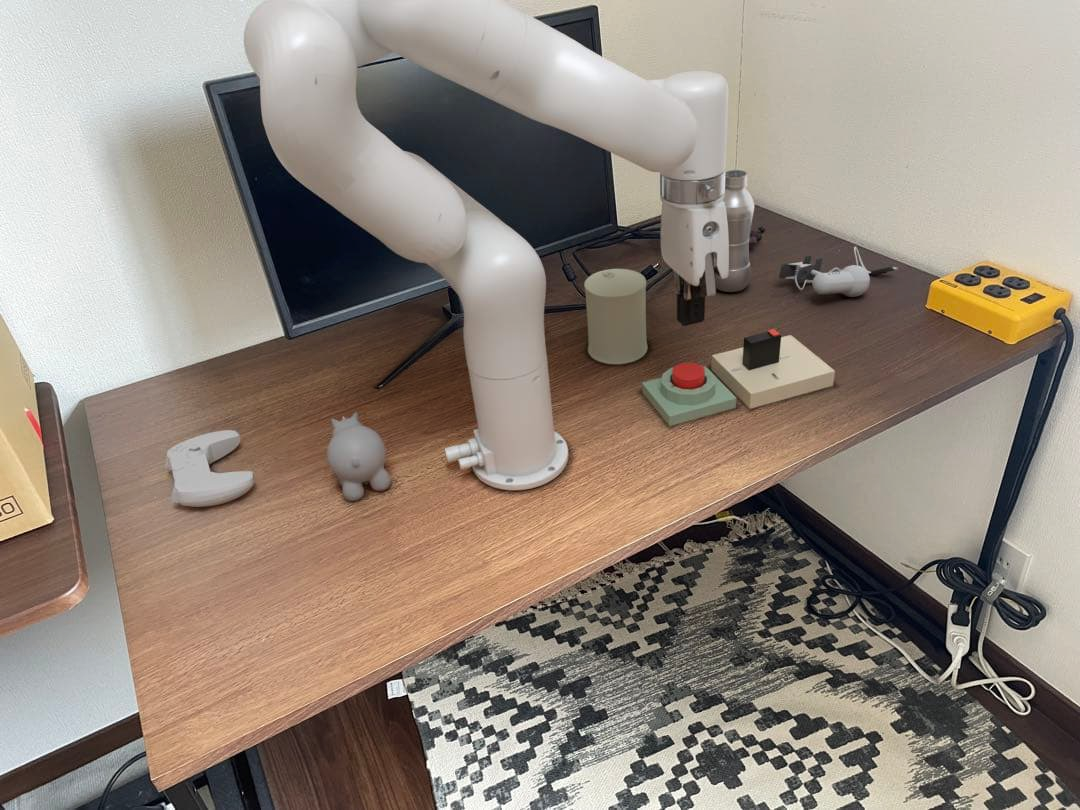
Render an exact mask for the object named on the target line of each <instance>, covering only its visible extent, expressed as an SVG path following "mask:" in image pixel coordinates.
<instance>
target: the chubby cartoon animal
mask: <svg viewBox="0 0 1080 810" xmlns="http://www.w3.org/2000/svg"><path fill="white" fill-rule="evenodd" d="M330 421H331V424H332V428H333V429H332V435H331V436H332V437H331V439H330V441H329V443H328V446H327V449H326V459H327V464H328V466H329V468H330V470H331V471H332V473H333V474H334V475H335V476H336V477H337V478H338V483H339V484H340V486H341V487H342V495H343V497H344V499H345V500H346V501H350V502H356V501H358V500H360V499H362V498H363V497H364V495H365V488H364V486H363V485H368V483H369V484H370V487H371V488H372V489H373V490H375V491H376V492H382V491H385V490H387V489H388V488H389V487H390V485H391V484H392V483H391V482H392V478H391V476H390V474H389V472H388V471H387V470H386V469H385V467H384V465H385V463H386V458H387V449H386V445H385V442H384V441H383V439H382V437H381V436H380V434H379V433H377V432H376V431H375V430H374V429H371V428H370V427H369V426H364V424H362V423H361V422H360V421H359V413H358V412H357V411H355V412H354V413H353V414H352V416H350V417H349V418H346V417H345V416H344V415H342V418H341V420H337V419H335V418H333V417H332V418H331V419H330Z"/></svg>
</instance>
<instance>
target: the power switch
mask: <svg viewBox="0 0 1080 810" xmlns="http://www.w3.org/2000/svg"><path fill="white" fill-rule="evenodd" d="M674 367H675V366H673V367H670V368H668V369H667V370H666V371H664V372H663V373H662V374H661V377H658V378H654V379H650V380H647V381H643V382H641V393H642V394H643V395H644V397H645V398H646V399H647V400H648V402H649V403H650V404H651V406H652V407H653V408H654V409H655V410H656V412H657V413H658V414H659V415H660V416H661V418H662V419H663V421H665V423H666V424H667V425H668V426H669V427H671V426H675V425H679V424H682V423H685V422H690V421H693V420H697V419H701V418H704V417H709V416H711V415H715V414H718V413H722V412H726V411H729V410H733V409H736V408H737V398H738V397H736V396H735V394H733V392H732V391H730V389H729V388H728V387H726V385H725V384H724V383H723V382H722V381H720V380H721V379H720V378H719V377H718V376H717V375H716V374H715V373H714V372H713V371H712V370H710V369H709V367H707V366H705V365H704V366H702V367H703V368H704V370H705V382H704V384H703V386H702V387H700V388H696V389H681V388H678V387H675V386H674V385H673V383H672V370H673V368H674Z"/></svg>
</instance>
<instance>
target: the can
mask: <svg viewBox="0 0 1080 810" xmlns="http://www.w3.org/2000/svg"><path fill="white" fill-rule="evenodd" d="M583 286H584V291H585V292H584V294H585V306H586V320H587V340H588V341H587V343H588V344H587V345H588V346H587V352H588V355H589V356H590V357H591V358H592V359H593V360H595V361H597V362H599V363H602V364H607V365H626V364H631V363H634V362H636V361H638V360H640V359H641V358H643V357H645V355H646V353H647V352H648V342H647V341H648V340H647V306H646V305H647V301H646V300H647V297H646V295H647V292H646V291H647V279H646V277H645V276H644V275H643V274H642V273H640V272H638V271H635V270H632V269H628V268H610V269H604V270H601V271H596V272H594V273H592V274H591V275H589V276H588V277H587V278H586V279H585V280H584V283H583Z"/></svg>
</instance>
